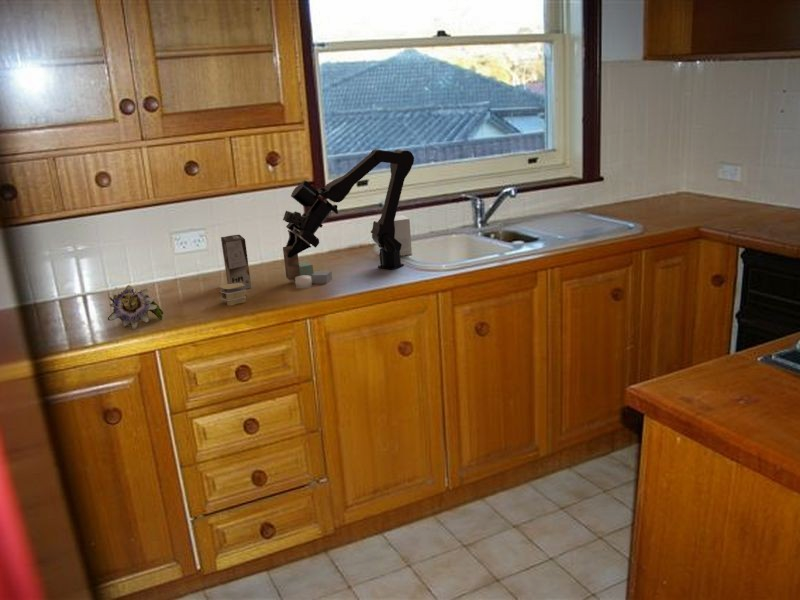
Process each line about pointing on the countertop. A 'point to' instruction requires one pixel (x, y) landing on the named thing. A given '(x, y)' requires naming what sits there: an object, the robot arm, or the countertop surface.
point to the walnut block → (291, 264)
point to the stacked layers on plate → (233, 293)
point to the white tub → (303, 281)
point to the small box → (403, 234)
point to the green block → (305, 268)
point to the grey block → (322, 277)
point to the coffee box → (236, 260)
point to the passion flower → (133, 307)
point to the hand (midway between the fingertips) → (286, 255)
